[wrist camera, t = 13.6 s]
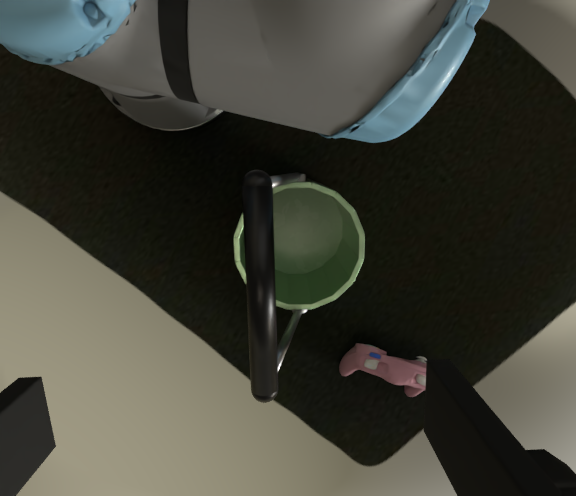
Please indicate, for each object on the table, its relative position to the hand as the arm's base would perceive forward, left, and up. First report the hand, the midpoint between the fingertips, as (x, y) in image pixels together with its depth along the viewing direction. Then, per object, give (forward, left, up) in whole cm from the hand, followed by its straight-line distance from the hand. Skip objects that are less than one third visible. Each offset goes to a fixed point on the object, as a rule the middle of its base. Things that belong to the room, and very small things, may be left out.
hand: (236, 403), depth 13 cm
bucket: (-1, +3, -29) cm, 30 cm away
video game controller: (+15, +13, -30) cm, 36 cm away
